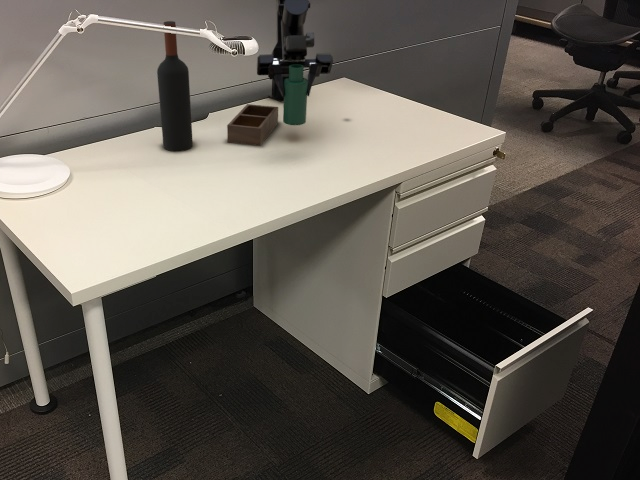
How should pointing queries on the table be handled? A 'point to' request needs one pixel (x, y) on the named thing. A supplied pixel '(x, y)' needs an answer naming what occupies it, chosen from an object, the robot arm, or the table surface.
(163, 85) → the wine bottle
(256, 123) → the carrier
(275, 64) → the robot arm
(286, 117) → the bottle
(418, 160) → the table surface
